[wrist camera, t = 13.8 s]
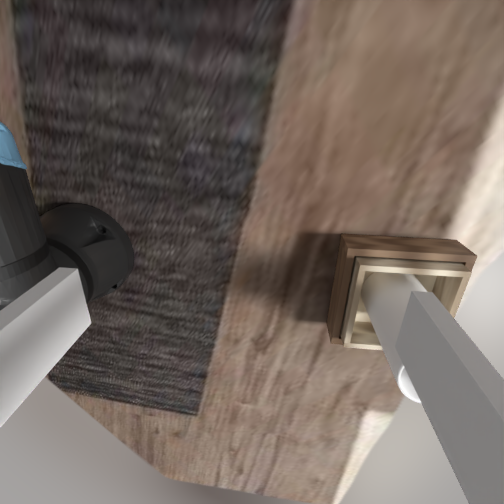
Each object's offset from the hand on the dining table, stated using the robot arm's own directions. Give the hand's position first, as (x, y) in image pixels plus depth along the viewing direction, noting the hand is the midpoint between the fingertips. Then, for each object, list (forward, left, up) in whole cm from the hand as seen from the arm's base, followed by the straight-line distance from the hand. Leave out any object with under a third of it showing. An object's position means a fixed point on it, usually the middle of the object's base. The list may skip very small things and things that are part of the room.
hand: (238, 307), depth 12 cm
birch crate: (+19, -17, -31) cm, 40 cm away
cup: (+19, -17, -30) cm, 39 cm away
